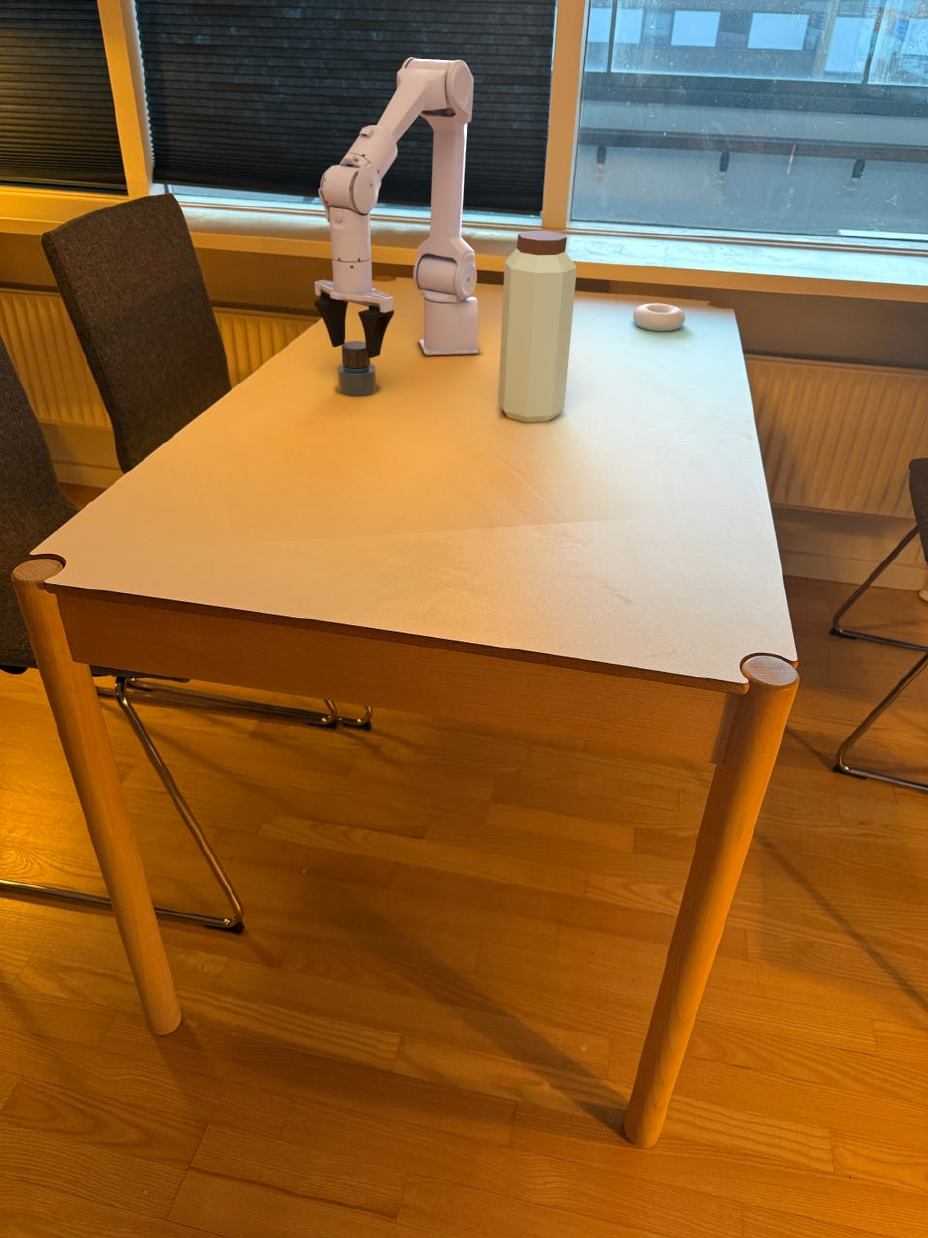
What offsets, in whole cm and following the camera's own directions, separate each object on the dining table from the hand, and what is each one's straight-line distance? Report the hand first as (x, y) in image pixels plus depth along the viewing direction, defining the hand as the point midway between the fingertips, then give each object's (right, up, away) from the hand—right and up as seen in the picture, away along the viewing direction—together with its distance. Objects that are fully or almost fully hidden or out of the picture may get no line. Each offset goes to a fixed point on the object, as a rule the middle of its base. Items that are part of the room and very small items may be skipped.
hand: (355, 350), depth 137 cm
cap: (0, -2, +1) cm, 2 cm away
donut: (+55, +16, +37) cm, 68 cm away
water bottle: (+27, -10, -3) cm, 29 cm away
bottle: (0, -5, +3) cm, 6 cm away
